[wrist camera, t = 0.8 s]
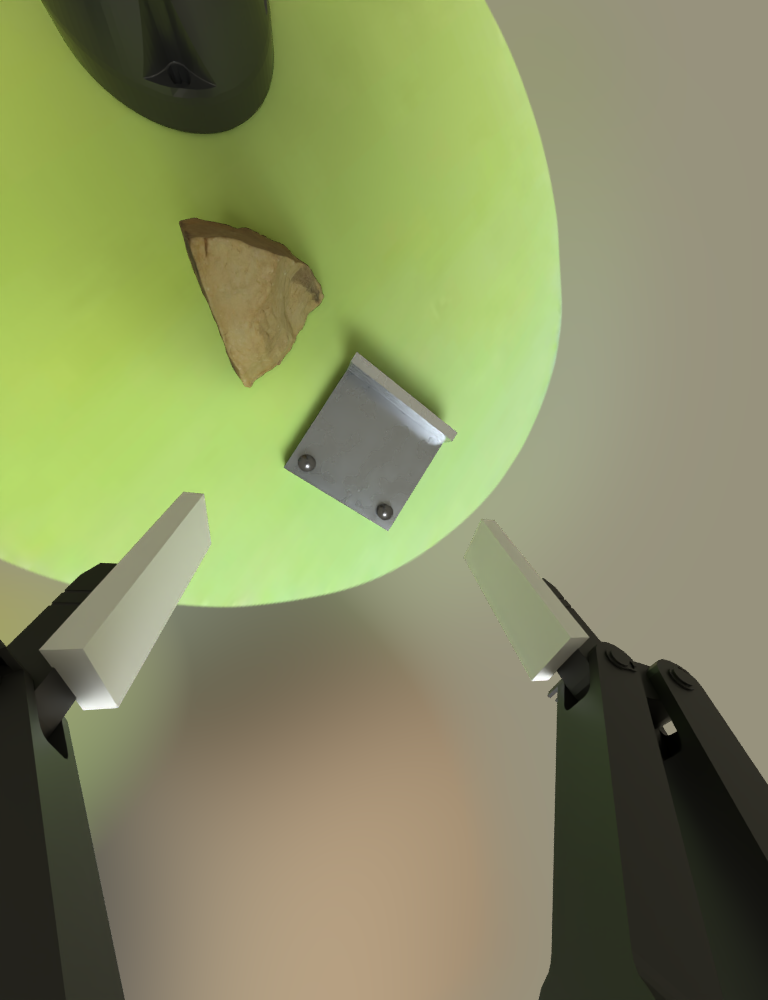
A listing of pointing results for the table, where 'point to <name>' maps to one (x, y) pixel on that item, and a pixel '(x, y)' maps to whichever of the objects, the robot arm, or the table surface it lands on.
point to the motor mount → (369, 444)
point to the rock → (251, 292)
